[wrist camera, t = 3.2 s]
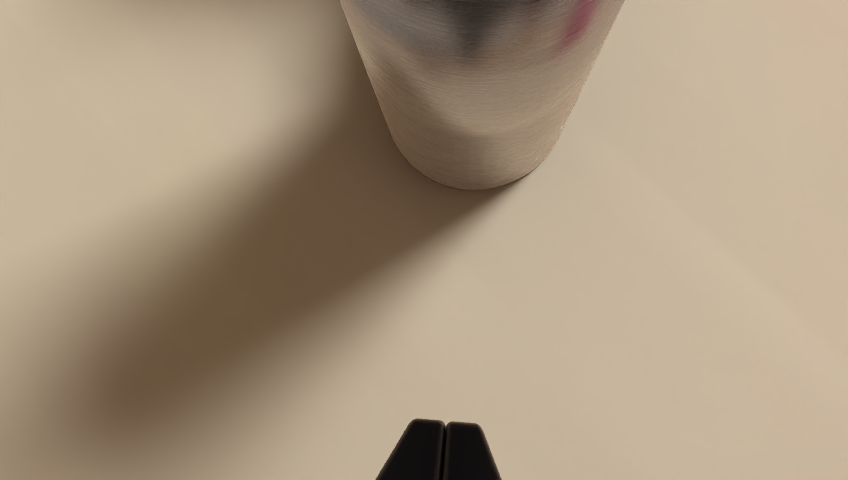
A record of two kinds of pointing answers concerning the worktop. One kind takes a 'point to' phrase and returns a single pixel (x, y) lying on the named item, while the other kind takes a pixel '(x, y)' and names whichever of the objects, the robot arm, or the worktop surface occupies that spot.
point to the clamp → (478, 78)
